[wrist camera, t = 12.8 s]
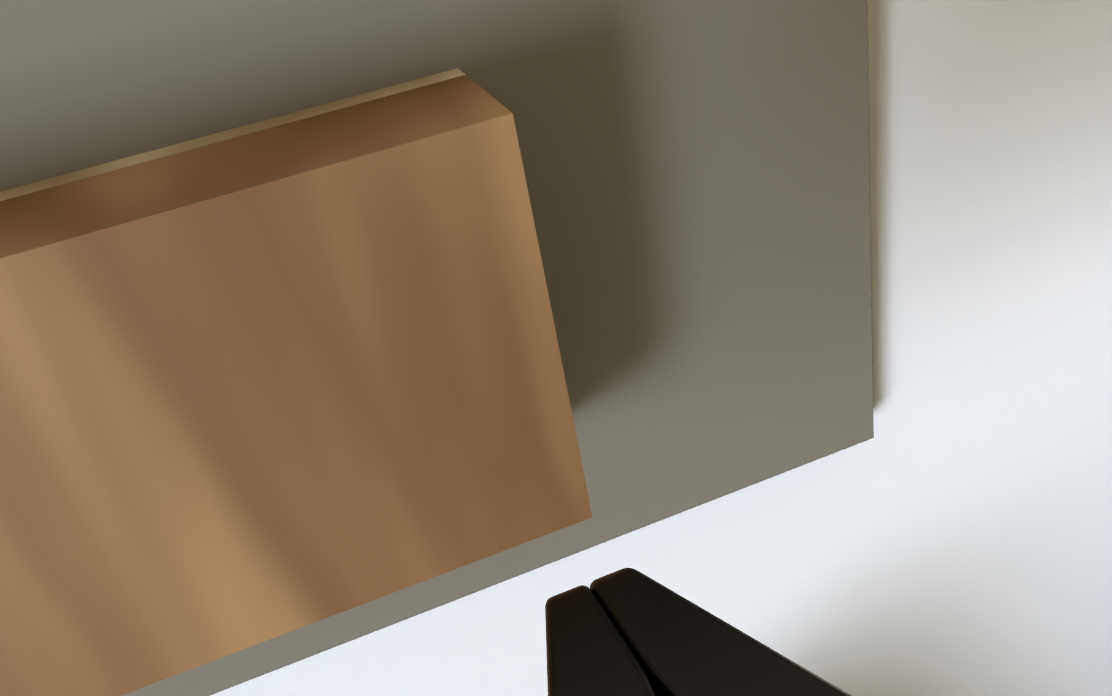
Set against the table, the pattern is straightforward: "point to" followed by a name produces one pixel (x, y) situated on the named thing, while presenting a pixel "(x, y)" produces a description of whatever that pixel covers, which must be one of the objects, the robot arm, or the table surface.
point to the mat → (551, 213)
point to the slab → (270, 384)
